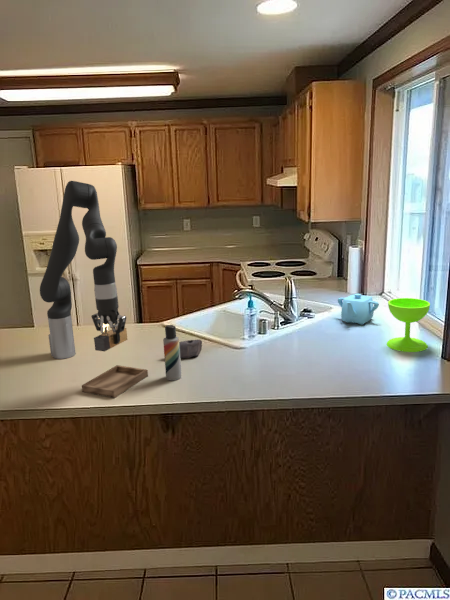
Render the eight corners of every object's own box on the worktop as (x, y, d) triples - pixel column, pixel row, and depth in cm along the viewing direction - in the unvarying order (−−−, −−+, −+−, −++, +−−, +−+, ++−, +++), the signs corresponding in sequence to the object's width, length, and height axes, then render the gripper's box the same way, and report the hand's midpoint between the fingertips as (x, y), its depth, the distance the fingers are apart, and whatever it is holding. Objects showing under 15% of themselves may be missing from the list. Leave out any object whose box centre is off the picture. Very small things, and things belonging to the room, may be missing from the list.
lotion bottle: (166, 375, 190) (162, 323, 185) (181, 374, 190) (178, 322, 185) (165, 381, 184) (161, 328, 179) (181, 380, 185) (178, 327, 180)
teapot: (335, 317, 252) (335, 291, 249) (368, 315, 253) (369, 289, 250) (346, 328, 235) (346, 300, 231) (381, 326, 235) (382, 298, 232)
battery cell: (95, 350, 176) (93, 337, 174) (119, 338, 187) (118, 326, 186) (104, 351, 174) (103, 338, 173) (128, 339, 186) (127, 327, 185)
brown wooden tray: (82, 391, 178) (81, 385, 178) (117, 371, 196) (116, 365, 195) (114, 397, 172) (114, 391, 172) (148, 376, 190) (147, 369, 189)
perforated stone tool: (166, 361, 204) (164, 344, 203) (166, 356, 210) (164, 340, 208) (203, 358, 206) (202, 341, 204) (202, 353, 211) (201, 337, 209)
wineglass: (384, 338, 219) (386, 297, 214) (424, 339, 215) (426, 298, 211) (388, 351, 204) (390, 307, 199) (431, 352, 200) (433, 308, 196)
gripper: (129, 294, 176) (134, 341, 180) (97, 292, 182) (102, 337, 187) (116, 299, 170) (121, 348, 174) (82, 297, 176) (88, 344, 180)
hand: (111, 342), depth 180 cm, fingers closed on battery cell, 4 cm apart
